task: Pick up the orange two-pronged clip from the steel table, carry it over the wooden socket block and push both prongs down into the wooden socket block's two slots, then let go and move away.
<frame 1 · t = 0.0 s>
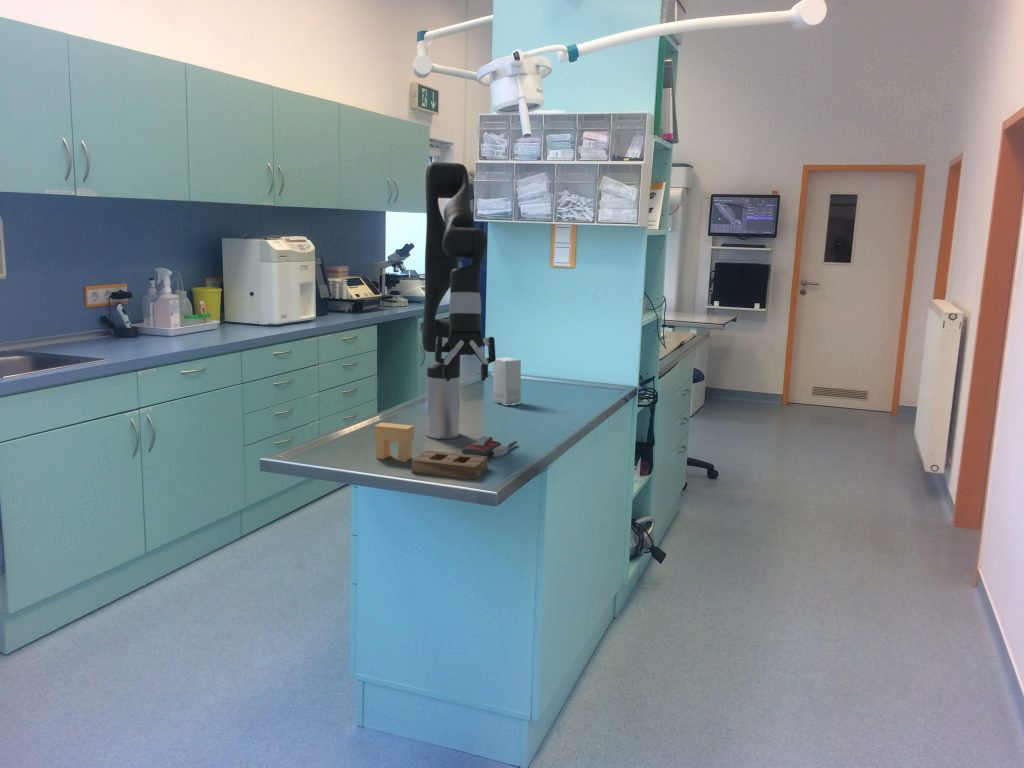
hand: (465, 380, 193), 22 cm above the table, tool pointing down, fingers open, 8 cm apart
red grey pronged tool: (490, 454, 215), on the table
wooden socket block: (450, 470, 197), on the table
clip: (394, 458, 206), on the table
skincare box: (506, 404, 279), on the table
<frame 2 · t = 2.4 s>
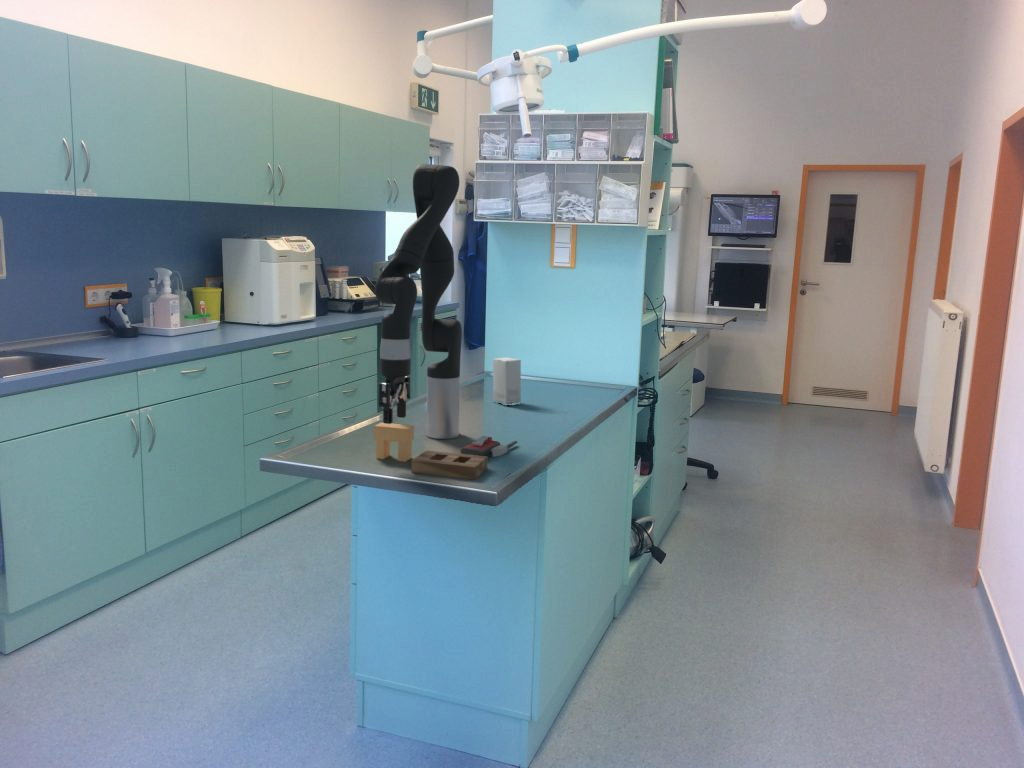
hand: (394, 420, 204), 10 cm above the table, tool pointing down, fingers open, 8 cm apart
nothing on the table moved.
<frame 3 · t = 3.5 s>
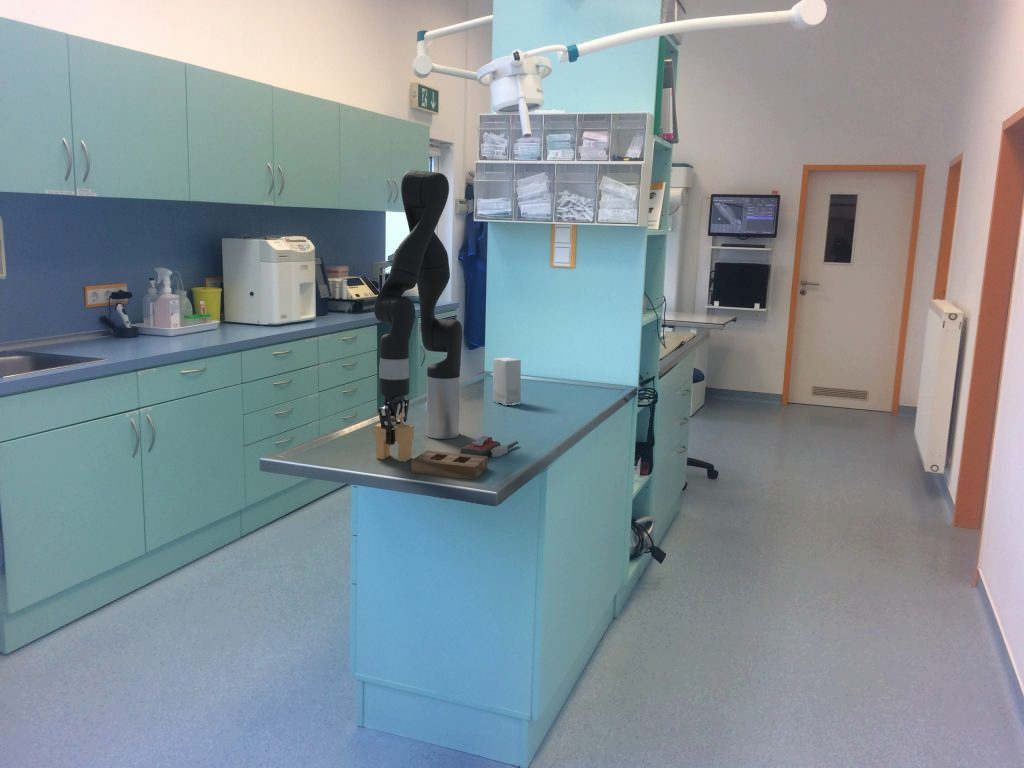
hand: (394, 441, 206), 4 cm above the table, tool pointing down, fingers closed on clip, 4 cm apart
clip: (394, 458, 206), on the table, touching gripper
everything else where it was.
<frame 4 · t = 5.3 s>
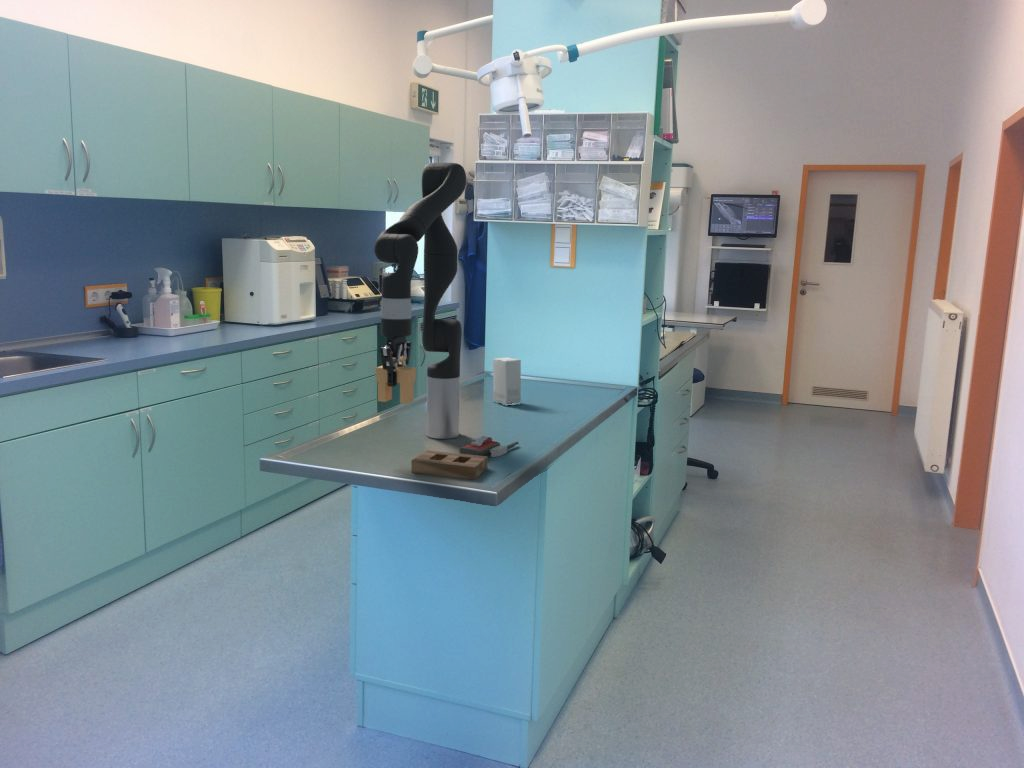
hand: (395, 384, 203), 19 cm above the table, tool pointing down, fingers closed on clip, 4 cm apart
clip: (395, 401, 203), point 15 cm above the table, touching gripper
everything else where it was.
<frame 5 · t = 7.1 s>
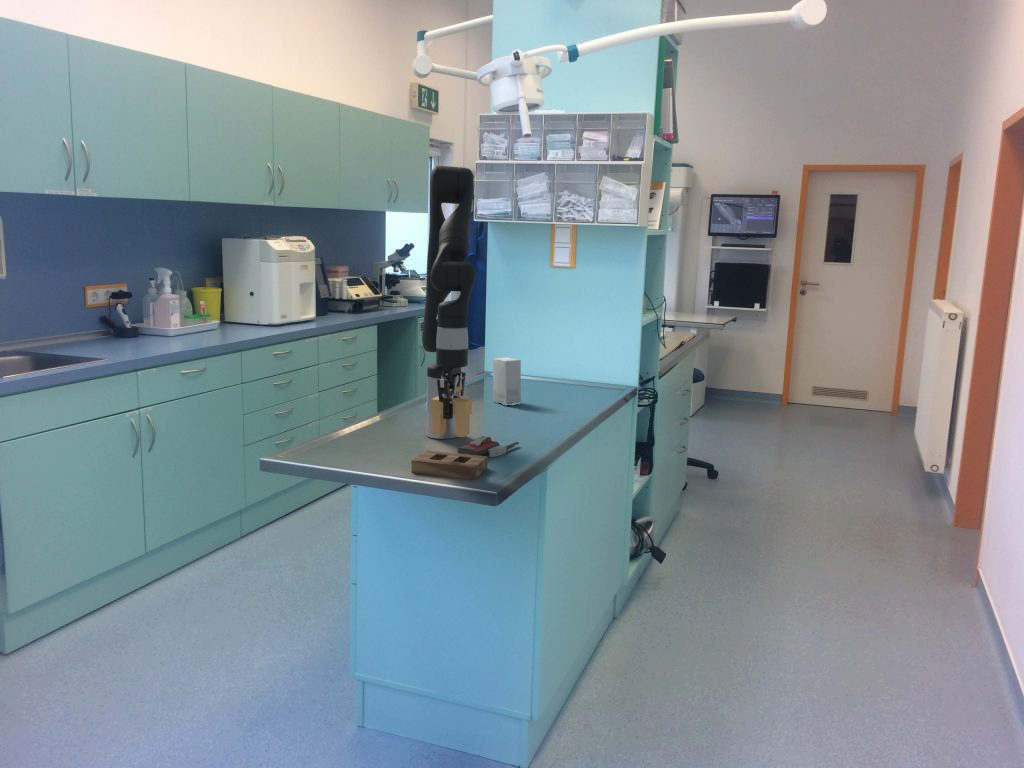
hand: (451, 416, 195), 13 cm above the table, tool pointing down, fingers closed on clip, 4 cm apart
clip: (450, 433, 195), point 9 cm above the table, touching gripper
everything else where it was.
when the fingers open (5 cm above the table, at t = 9.3 s): clip stays where it is, resting in wooden socket block.
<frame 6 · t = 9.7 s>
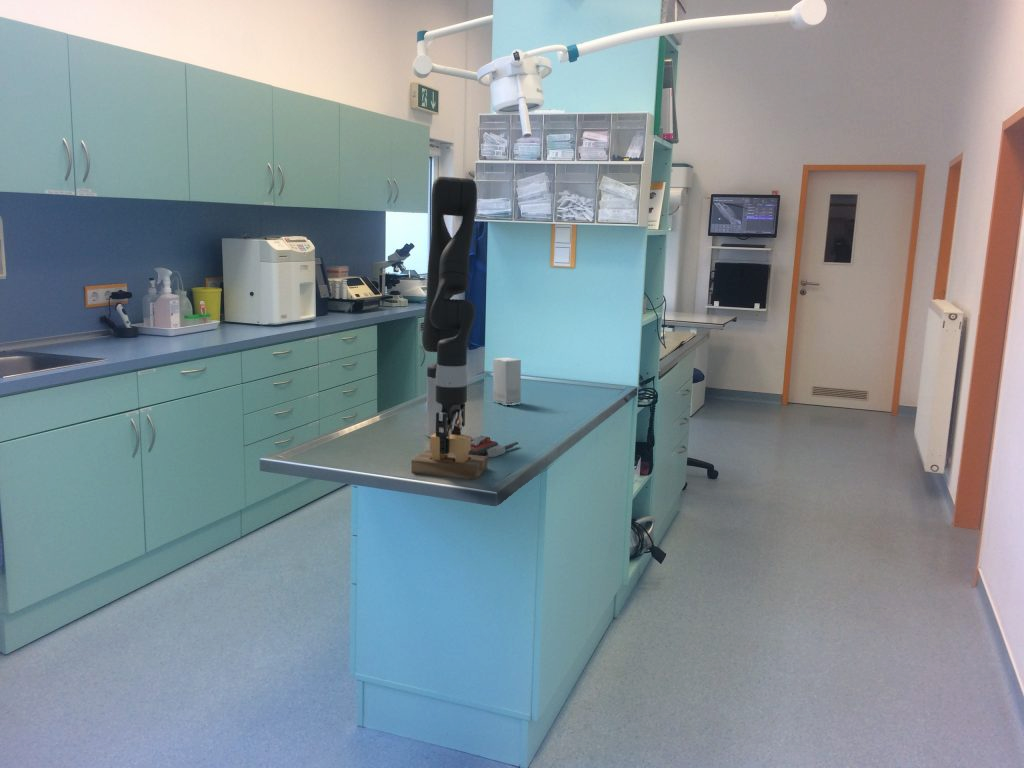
hand: (450, 449, 196), 5 cm above the table, tool pointing down, fingers open, 7 cm apart
clip: (449, 470, 197), resting in wooden socket block
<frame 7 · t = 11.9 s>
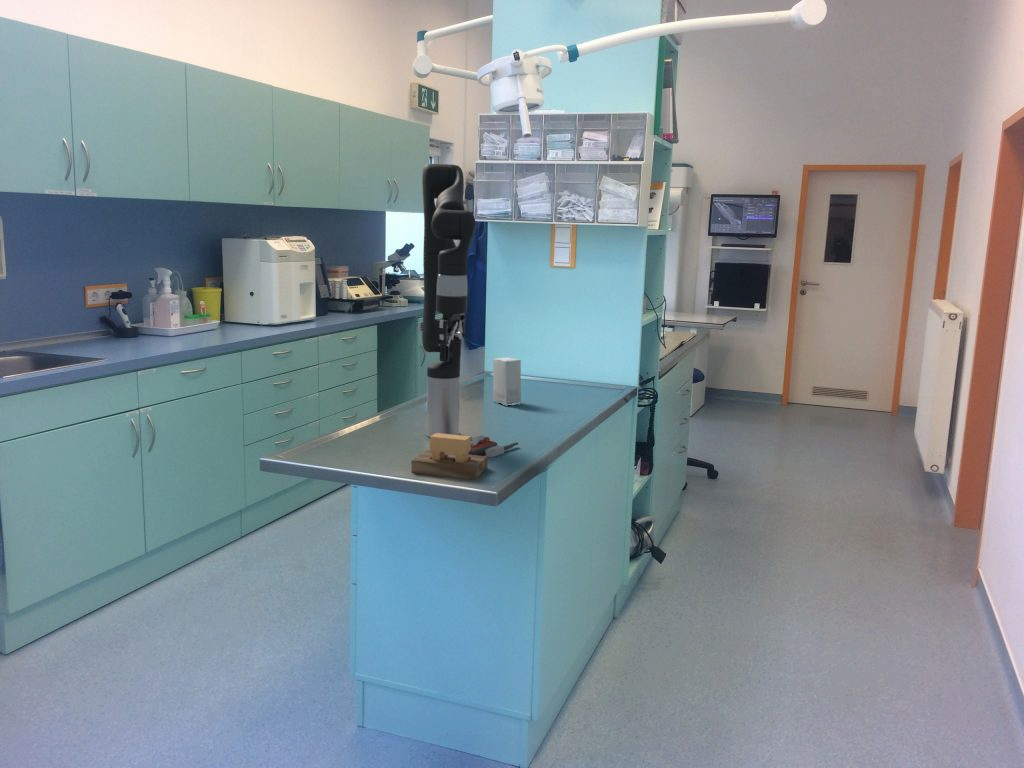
hand: (450, 358, 202), 26 cm above the table, tool pointing down, fingers open, 8 cm apart
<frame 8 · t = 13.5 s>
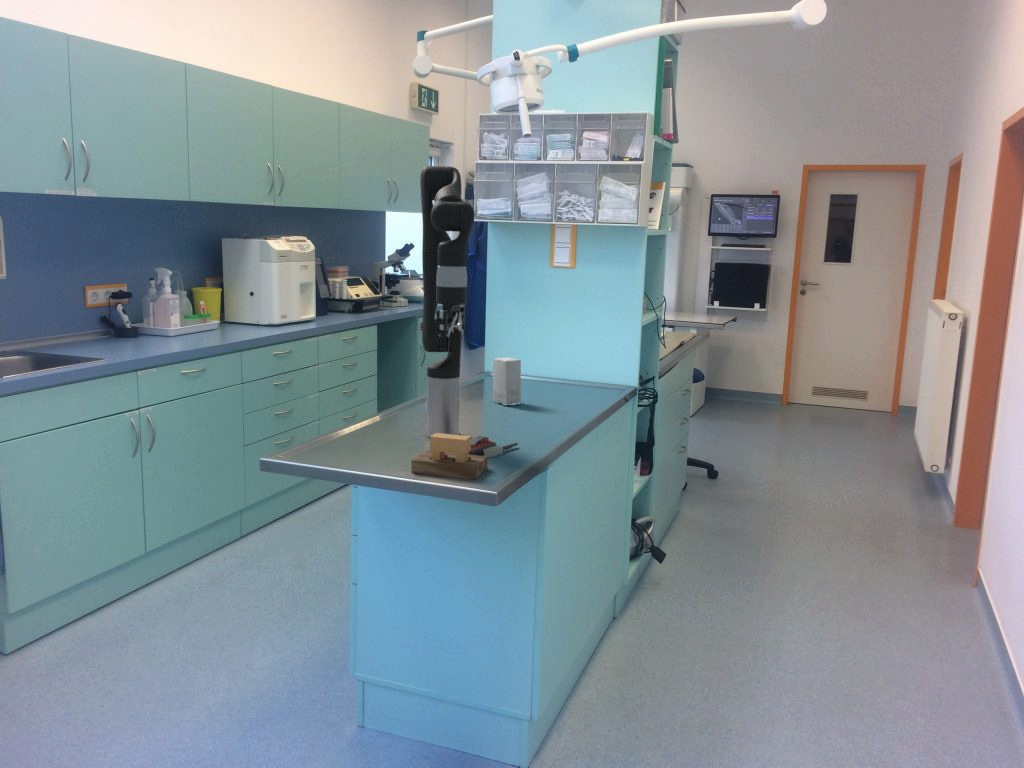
hand: (450, 349, 203), 28 cm above the table, tool pointing down, fingers open, 8 cm apart
at the end: clip 0.0 cm off-centre on the wooden socket block, point 0.0 cm above the wooden socket block's base; clip tilted 0°; the gripper is holding nothing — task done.
